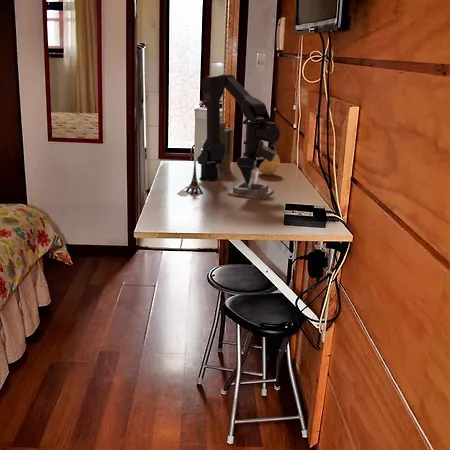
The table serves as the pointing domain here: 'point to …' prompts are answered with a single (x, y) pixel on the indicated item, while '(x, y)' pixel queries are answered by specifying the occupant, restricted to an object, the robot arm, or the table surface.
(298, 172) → the table surface
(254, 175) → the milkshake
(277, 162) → the stress ball
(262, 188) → the frame
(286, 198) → the table surface
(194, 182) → the eiffel tower figurine
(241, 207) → the table surface
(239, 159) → the robot arm
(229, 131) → the canister
